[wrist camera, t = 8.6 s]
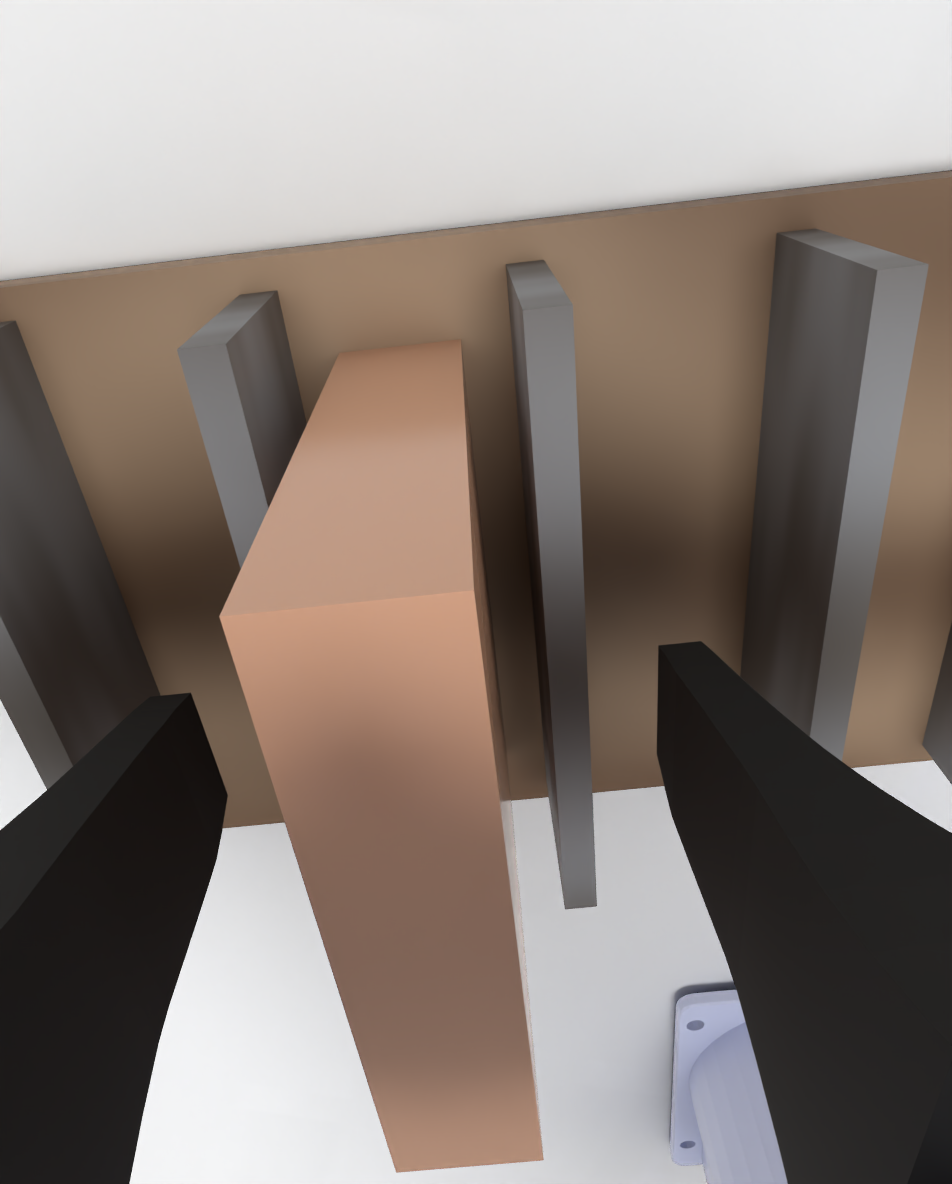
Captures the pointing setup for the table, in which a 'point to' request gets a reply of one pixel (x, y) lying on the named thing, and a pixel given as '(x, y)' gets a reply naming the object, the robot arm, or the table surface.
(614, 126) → the table surface
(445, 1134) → the peach rectangular slab
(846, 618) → the dish rack
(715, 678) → the robot arm
